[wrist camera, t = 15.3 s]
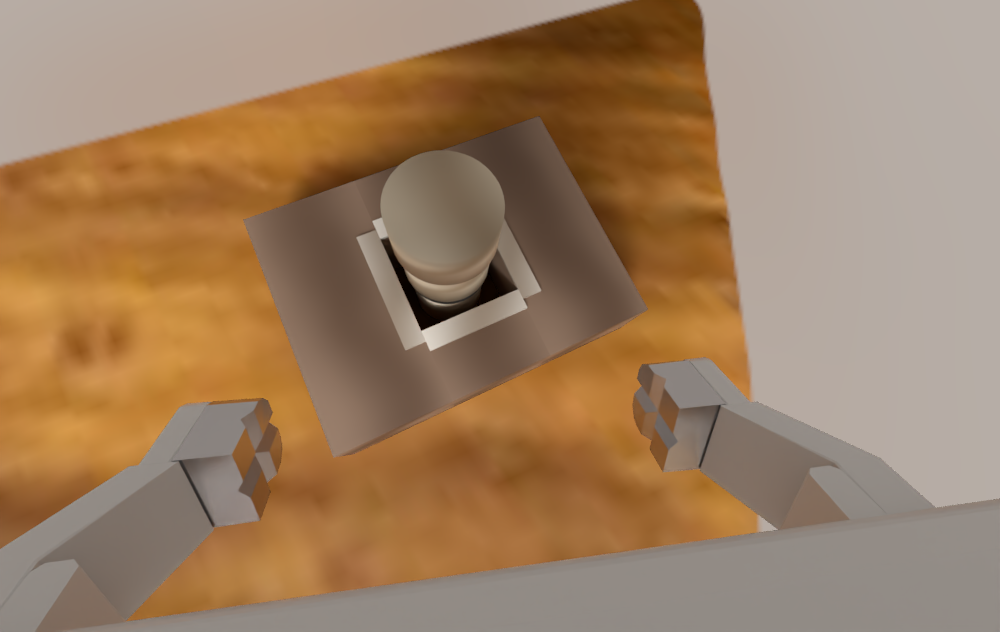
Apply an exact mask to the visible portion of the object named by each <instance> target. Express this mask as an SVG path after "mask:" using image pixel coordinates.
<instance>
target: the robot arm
mask: <svg viewBox="0 0 1000 632" xmlns="http://www.w3.org/2000/svg"><path fill="white" fill-rule="evenodd" d="M637 379H638V381H639V382H640V384H641V385H642V386H641V387H640V388H639V390H638V391H637V392H636V393H635V394H634V399H633V414H634V419H635V422H636V425H637V427H638V429H639V431H640V433H641V434H642V435H644V436H645V437H647V438H648V439H650V440H651V445H650V450H651V452H652V454H653V456H654V457H655V459H656V461H657V463H658V464H659V466H660V468H661V470H662V471H663V472H670V471H681V470H692V469H700V471H701V472H702V473H704V474H705V475H706V476H708V477H709V478H710V479H712V480H713V481H714V482H716V483H717V484H718V485H720V486H721V487H722V488H724V489H725V490H726V491H728V492H729V493H730V494H732V495H733V496H734V497H736V498H737V499H738V500H740V501H741V502H742V503H744V504H745V505H746V506H748V507H749V508H750V509H752V510H753V511H754V512H756V513H757V514H758V515H760V516H761V517H762V518H764V519H765V520H766V521H768V522H769V523H770V524H772V525H773V526H774V527H776V528H777V529H778V530H773V531H766V532H759V533H751V534H744V535H737V536H730V537H723V538H716V539H709V540H702V541H695V542H687V543H680V544H673V545H666V546H659V547H652V548H645V549H638V550H631V551H624V552H617V553H610V554H603V555H596V556H589V557H582V558H575V559H568V560H561V561H554V562H546V563H539V564H532V565H525V566H518V567H511V568H504V569H497V570H489V571H482V572H475V573H468V574H461V575H454V576H447V577H440V578H432V579H425V580H418V581H411V582H404V583H397V584H390V585H383V586H375V587H368V588H361V589H354V590H347V591H340V592H333V593H326V594H319V595H312V596H305V597H297V598H290V599H283V600H276V601H269V602H262V603H255V604H248V605H241V606H234V607H226V608H219V609H212V610H205V611H198V612H191V613H184V614H177V615H170V616H163V617H156V618H148V619H141V620H134V621H127V622H126V620H127V619H128V618H129V617H130V616H131V615H132V614H133V613H134V612H135V611H136V610H137V609H138V608H139V607H140V606H141V605H142V604H143V603H144V602H145V601H146V600H147V599H148V597H149V596H150V595H151V594H152V593H153V592H154V591H155V590H156V589H157V588H158V587H159V586H160V585H161V584H162V583H163V582H164V581H165V580H166V579H167V578H168V577H169V576H170V575H171V574H172V573H173V572H174V571H175V570H176V569H177V567H178V566H179V565H180V564H181V563H182V562H183V561H184V560H185V559H186V558H187V557H188V556H189V555H190V554H191V553H192V552H193V551H194V550H195V549H196V548H197V547H198V546H199V545H200V544H201V543H202V542H203V541H204V540H205V538H206V537H207V536H208V535H209V534H210V533H211V532H212V531H213V530H214V528H213V527H220V526H226V525H233V524H240V523H247V522H254V521H260V520H261V517H262V514H263V512H264V509H265V506H266V503H267V500H268V498H269V495H270V492H271V491H270V489H269V486H268V483H267V482H268V481H269V480H271V479H272V478H273V477H274V476H275V475H276V474H277V473H278V469H279V466H280V463H281V457H282V442H281V436H280V433H279V430H278V428H276V427H275V426H273V425H272V424H271V423H269V420H270V418H271V415H272V413H273V412H272V410H271V407H270V405H269V402H268V400H266V399H264V398H256V399H241V400H227V401H213V402H202V403H189V404H185V405H183V406H181V407H179V409H178V410H177V411H176V413H175V414H174V416H173V417H172V419H171V420H170V421H169V423H168V424H167V426H166V427H165V428H164V430H163V431H162V433H161V434H160V435H159V437H158V438H157V440H156V441H155V443H154V444H153V445H152V447H151V448H150V450H149V451H148V452H147V454H146V455H145V457H144V458H143V459H142V461H141V462H140V464H139V465H138V466H129V467H128V468H126V469H125V470H123V471H121V472H120V473H118V474H117V475H115V476H114V477H112V478H111V479H109V480H107V481H106V482H104V483H103V484H101V485H100V486H98V487H97V488H95V489H93V490H92V491H90V492H89V493H87V494H86V495H84V496H82V497H81V498H79V499H78V500H76V501H75V502H73V503H72V504H70V505H68V506H67V507H65V508H64V509H62V510H61V511H59V512H58V513H56V514H54V515H53V516H51V517H50V518H48V519H47V520H45V521H43V522H42V523H40V524H39V525H37V526H36V527H34V528H33V529H31V530H29V531H28V532H26V533H25V534H23V535H22V536H20V537H19V538H17V539H15V540H14V541H12V542H11V543H9V544H8V545H6V546H4V547H3V548H1V549H0V632H1000V499H993V500H987V501H980V502H972V503H965V504H958V505H952V506H945V507H937V508H936V507H934V506H933V505H932V504H931V503H930V502H929V501H928V500H927V499H925V498H924V497H923V496H922V495H921V494H920V493H919V492H918V491H917V490H915V489H914V488H913V487H912V486H911V485H910V484H909V483H908V482H906V481H905V480H904V479H903V478H902V477H901V476H900V475H899V474H898V473H896V472H895V471H894V470H893V469H892V468H891V467H889V465H887V464H886V463H885V462H884V461H883V460H882V459H881V458H879V457H877V456H875V455H872V454H870V453H868V452H866V451H864V450H862V449H859V448H857V447H855V446H853V445H850V444H849V443H846V442H844V441H842V440H840V439H838V438H835V437H833V436H831V435H829V434H827V433H825V432H822V431H820V430H818V429H816V428H813V427H811V426H809V425H807V424H805V423H803V422H800V421H798V420H796V419H793V418H792V417H789V416H787V415H785V414H783V413H781V412H779V411H776V410H774V409H772V408H770V407H768V406H765V405H763V404H761V403H759V402H750V401H749V400H748V399H747V398H746V397H745V396H744V395H743V394H742V393H741V392H740V391H739V389H738V388H737V387H736V386H735V385H734V384H733V383H732V382H731V381H730V380H729V379H728V378H727V377H726V376H725V375H724V373H723V372H722V371H721V370H720V369H719V368H718V367H717V366H716V365H715V364H714V363H713V362H712V361H711V360H710V359H708V358H705V357H703V358H695V359H686V360H683V361H672V362H662V363H651V364H642V366H641V367H640V369H639V373H638V377H637Z"/></svg>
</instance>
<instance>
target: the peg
mask: <svg viewBox="0 0 1000 632" xmlns="http://www.w3.org/2000/svg"><path fill="white" fill-rule="evenodd" d="M380 206H381V215H382V220H383V223H384V225H385V228H386V231H387V234H388V237H389V240H390V243H391V246H392V248H393V251H394V254H395V256H396V258H397V260H398V261H399V263H400V264H401V265H402V266H403V268H404V270H405V273H406V275H407V278H408V280H409V282H410V283H411V285H412V286H413V288H414V289H415V292H416V295H417V299H418V301H419V304H420V306H421V307H422V309H423V310H424V311H425V312H426V313H427V314H428V315H429V316H431V317H433V318H435V319H437V320H440V321H446V320H448V319H450V318H453V317H455V316H457V315H460V314H462V313H464V312H466V311H469V310H471V309H473V308H475V307H476V305H477V303H478V301H479V297H480V291H481V286H482V284H483V282H484V280H485V278H486V276H487V273H488V269H489V264H490V263H491V261H492V260H493V258H494V256H495V253H496V250H497V247H498V243H499V238H500V233H501V229H502V224H503V220H504V214H505V201H504V195H503V192H502V189H501V187H500V184H499V182H498V181H497V179H496V177H495V176H494V175H493V174H492V172H491V171H490V170H489V169H488V168H487V167H486V166H485V165H483V164H482V163H481V162H479V161H478V160H476V159H474V158H472V157H470V156H468V155H465V154H462V153H459V152H454V151H446V150H437V151H429V152H425V153H421V154H418V155H416V156H413V157H411V158H409V159H408V160H406V161H404V162H403V163H402V164H400V165H399V166H398V167H397V168H396V169H395V170H394V171H393V172H392V174H391V175H390V176H389V178H388V180H387V181H386V183H385V186H384V188H383V191H382V195H381V203H380Z"/></svg>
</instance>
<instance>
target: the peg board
mask: <svg viewBox="0 0 1000 632" xmlns="http://www.w3.org/2000/svg"><path fill="white" fill-rule="evenodd" d="M444 150H446V151H454V152H459V153H462V154H465V155H468V156H470V157H472V158H474V159H476V160H478V161H479V162H481V163H482V164H483V165H485V166H486V167H487V168H488V169H489V170H490V171H491V172H492V174H493V175H494V176H495V177H496V179H497V181H498V182H499V184H500V187H501V189H502V192H503V195H504V201H505V214H504V220H503V224H502V229H501V233H500V238H499V243H498V247H497V250H496V253H495V256H494V258H493V260H492V261H491V263H490V264H489V269H488V272H489V274H490V276H491V278H492V280H493V282H494V284H495V286H496V288H497V290H498V292H499V294H500V296H501V297H499V298H497V299H494V300H492V301H490V302H487V303H485V304H483V305H480V306H478V307H476V308H473V309H471V310H469V311H466V312H464V313H462V314H460V315H457V316H455V317H453V318H450V319H448V320H446V321H443V322H441V323H439V324H436V325H434V326H432V327H429V328H427V329H425V330H422V331H421V329H420V327H419V325H418V323H417V320H416V318H415V316H414V314H413V311H412V309H411V307H410V305H409V302H408V300H407V298H406V296H405V293H404V291H403V289H402V287H401V284H400V282H399V280H398V278H397V275H396V273H395V271H394V269H395V268H398V267H400V266H402V265H401V264H400V263H399V261H398V260H397V258H396V256H395V254H394V251H393V248H392V246H391V243H390V240H389V237H388V234H387V231H386V228H385V225H384V223H383V220H382V215H381V206H380V203H381V195H382V191H383V188H384V186H385V183H386V181H387V180H388V178H389V176H390V175H391V174H392V172H393V171H394V170H395V169H396V168H397V167H398V166H399V165H398V166H395V167H392V168H390V169H387V170H384V171H381V172H378V173H375V174H372V175H370V176H367V177H364V178H361V179H358V180H355V181H353V182H350V183H347V184H344V185H341V186H338V187H335V188H333V189H330V190H327V191H324V192H321V193H318V194H316V195H313V196H310V197H307V198H304V199H301V200H298V201H296V202H293V203H290V204H287V205H284V206H281V207H279V208H276V209H273V210H270V211H267V212H264V213H261V214H259V215H256V216H253V217H250V218H247V219H244V220H243V221H244V223H245V226H246V228H247V231H248V234H249V236H250V239H251V242H252V244H253V247H254V250H255V252H256V255H257V257H258V260H259V263H260V265H261V268H262V271H263V273H264V276H265V278H266V281H267V284H268V286H269V289H270V292H271V294H272V297H273V299H274V302H275V305H276V307H277V310H278V313H279V315H280V318H281V321H282V323H283V326H284V328H285V331H286V334H287V336H288V339H289V342H290V344H291V347H292V349H293V352H294V355H295V357H296V360H297V363H298V365H299V368H300V371H301V373H302V376H303V378H304V381H305V384H306V386H307V389H308V392H309V394H310V397H311V399H312V402H313V405H314V407H315V410H316V413H317V415H318V418H319V421H320V423H321V426H322V428H323V431H324V434H325V436H326V439H327V442H328V444H329V447H330V449H331V452H332V455H333V457H339V456H345V455H351V454H355V453H357V452H359V451H361V450H363V449H366V448H368V447H370V446H372V445H374V444H376V443H378V442H380V441H382V440H385V439H387V438H389V437H391V436H393V435H395V434H397V433H399V432H401V431H404V430H406V429H408V428H410V427H412V426H414V425H416V424H418V423H420V422H423V421H425V420H427V419H429V418H431V417H433V416H435V415H437V414H439V413H442V412H444V411H446V410H448V409H450V408H452V407H454V406H456V405H458V404H461V403H463V402H465V401H467V400H469V399H471V398H473V397H475V396H477V395H480V394H482V393H484V392H486V391H488V390H490V389H492V388H494V387H496V386H499V385H501V384H503V383H505V382H507V381H509V380H511V379H513V378H515V377H518V376H520V375H522V374H524V373H526V372H528V371H530V370H532V369H534V368H536V367H539V366H541V365H543V364H545V363H547V362H549V361H551V360H553V359H555V358H558V357H560V356H562V355H564V354H566V353H568V352H570V351H572V350H574V349H577V348H579V347H581V346H583V345H585V344H587V343H589V342H591V341H593V340H596V339H598V338H600V337H602V336H604V335H606V334H608V333H610V332H612V331H615V330H617V329H619V328H621V327H622V326H624V325H625V324H627V323H628V322H630V321H631V320H633V319H634V318H636V317H637V316H639V315H640V314H642V313H643V312H645V311H646V310H648V308H647V307H646V305H645V303H644V301H643V299H642V298H641V296H640V294H639V292H638V291H637V289H636V287H635V285H634V283H633V282H632V280H631V278H630V276H629V275H628V273H627V271H626V269H625V267H624V266H623V264H622V262H621V260H620V259H619V257H618V255H617V253H616V251H615V250H614V248H613V246H612V244H611V243H610V241H609V239H608V237H607V235H606V234H605V232H604V230H603V228H602V227H601V225H600V223H599V221H598V219H597V218H596V216H595V214H594V212H593V211H592V209H591V207H590V205H589V203H588V202H587V200H586V198H585V196H584V195H583V193H582V191H581V189H580V187H579V186H578V184H577V182H576V180H575V179H574V177H573V175H572V173H571V171H570V170H569V168H568V166H567V164H566V163H565V161H564V159H563V157H562V155H561V154H560V152H559V150H558V148H557V147H556V145H555V143H554V141H553V139H552V138H551V136H550V134H549V132H548V131H547V129H546V127H545V125H544V124H543V122H542V120H541V118H540V116H538V117H535V118H532V119H529V120H526V121H523V122H520V123H518V124H515V125H512V126H509V127H506V128H503V129H501V130H498V131H495V132H492V133H489V134H486V135H483V136H481V137H478V138H475V139H472V140H469V141H466V142H464V143H461V144H458V145H455V146H452V147H449V148H446V149H444Z"/></svg>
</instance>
